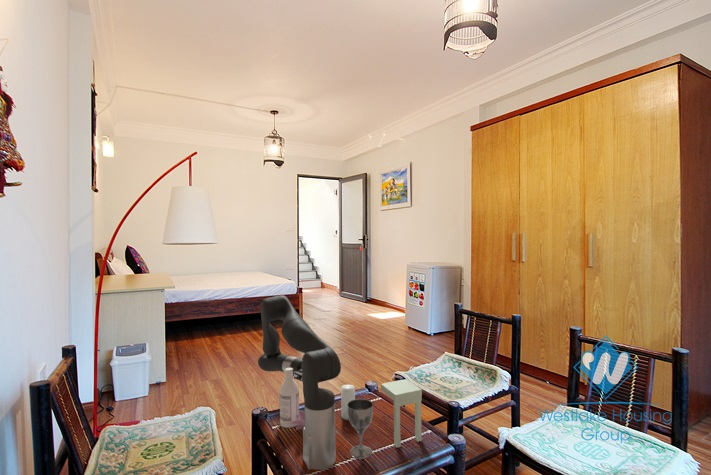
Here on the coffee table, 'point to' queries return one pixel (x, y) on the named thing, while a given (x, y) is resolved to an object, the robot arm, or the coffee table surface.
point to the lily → (300, 420)
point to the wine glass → (360, 424)
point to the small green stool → (404, 395)
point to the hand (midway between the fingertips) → (324, 375)
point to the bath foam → (289, 400)
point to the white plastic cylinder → (346, 399)
